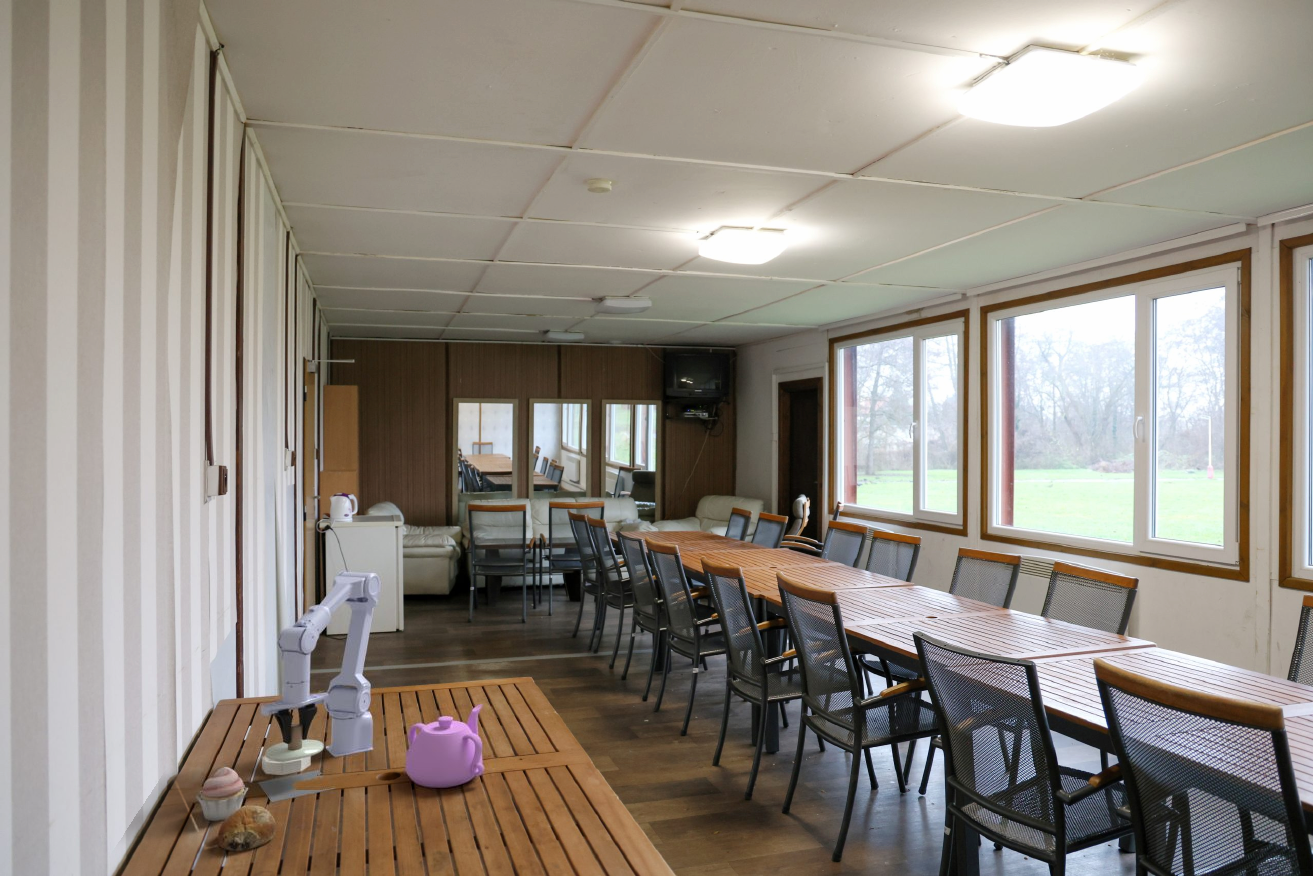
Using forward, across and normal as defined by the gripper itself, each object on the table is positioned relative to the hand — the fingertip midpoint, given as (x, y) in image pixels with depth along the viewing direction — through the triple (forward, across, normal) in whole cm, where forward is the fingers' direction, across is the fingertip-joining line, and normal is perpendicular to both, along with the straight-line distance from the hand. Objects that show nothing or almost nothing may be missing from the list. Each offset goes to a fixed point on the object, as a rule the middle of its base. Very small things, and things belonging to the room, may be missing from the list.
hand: (294, 740), depth 191 cm
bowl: (+9, -2, -9) cm, 13 cm away
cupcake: (+9, +18, +8) cm, 22 cm away
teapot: (+9, -27, +21) cm, 36 cm away
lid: (+2, 0, 0) cm, 2 cm away
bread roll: (+9, +19, +22) cm, 30 cm away
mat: (+9, +1, +4) cm, 10 cm away
